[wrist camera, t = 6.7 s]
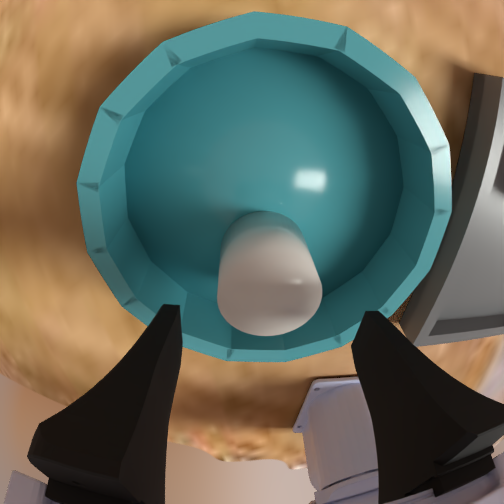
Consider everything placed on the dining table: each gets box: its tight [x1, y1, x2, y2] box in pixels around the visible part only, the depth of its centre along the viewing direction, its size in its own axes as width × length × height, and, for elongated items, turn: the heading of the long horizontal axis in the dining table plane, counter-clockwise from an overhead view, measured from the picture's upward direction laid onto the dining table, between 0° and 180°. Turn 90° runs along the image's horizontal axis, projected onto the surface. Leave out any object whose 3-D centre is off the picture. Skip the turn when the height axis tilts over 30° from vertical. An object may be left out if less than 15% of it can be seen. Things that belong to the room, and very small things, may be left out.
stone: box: [217, 211, 322, 336], centre depth 15 cm, size 4×4×4 cm
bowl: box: [77, 12, 452, 362], centre depth 14 cm, size 16×16×4 cm
